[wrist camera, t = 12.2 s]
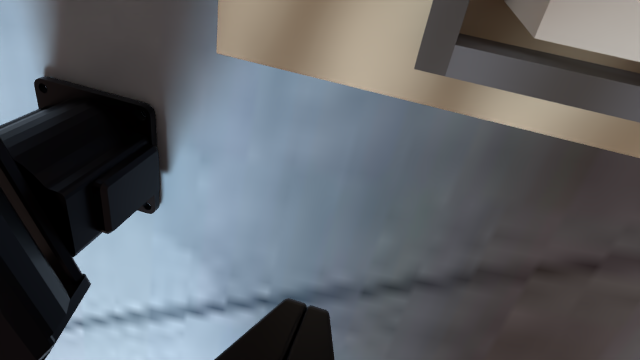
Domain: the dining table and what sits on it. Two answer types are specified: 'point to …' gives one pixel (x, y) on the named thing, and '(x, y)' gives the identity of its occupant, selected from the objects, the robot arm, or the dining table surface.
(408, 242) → the dining table surface
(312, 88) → the dining table surface
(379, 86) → the header board
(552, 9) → the plug
